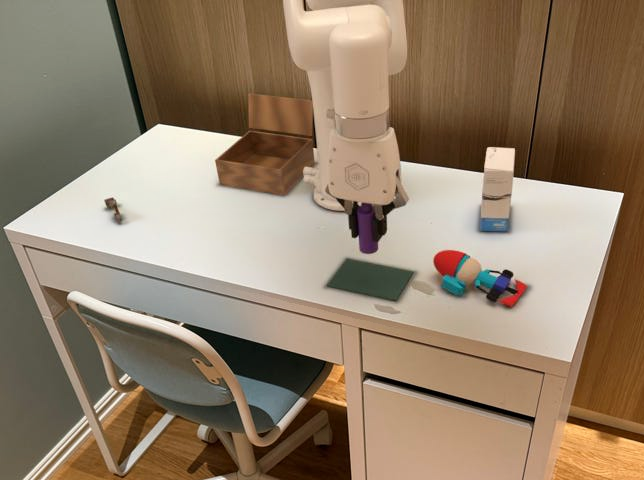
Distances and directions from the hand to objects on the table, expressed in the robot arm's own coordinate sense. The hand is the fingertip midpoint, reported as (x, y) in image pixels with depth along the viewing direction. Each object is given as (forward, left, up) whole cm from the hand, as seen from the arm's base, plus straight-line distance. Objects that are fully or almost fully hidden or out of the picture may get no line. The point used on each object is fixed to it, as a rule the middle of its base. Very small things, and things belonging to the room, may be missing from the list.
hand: (368, 234), depth 110 cm
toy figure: (+16, +4, -9) cm, 19 cm away
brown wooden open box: (-34, +27, -9) cm, 45 cm away
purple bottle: (0, 0, -3) cm, 3 cm away
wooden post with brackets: (-55, +4, -9) cm, 56 cm away
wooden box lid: (-34, +35, +1) cm, 49 cm away
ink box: (+14, +24, -9) cm, 29 cm away
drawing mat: (0, 0, -9) cm, 9 cm away
